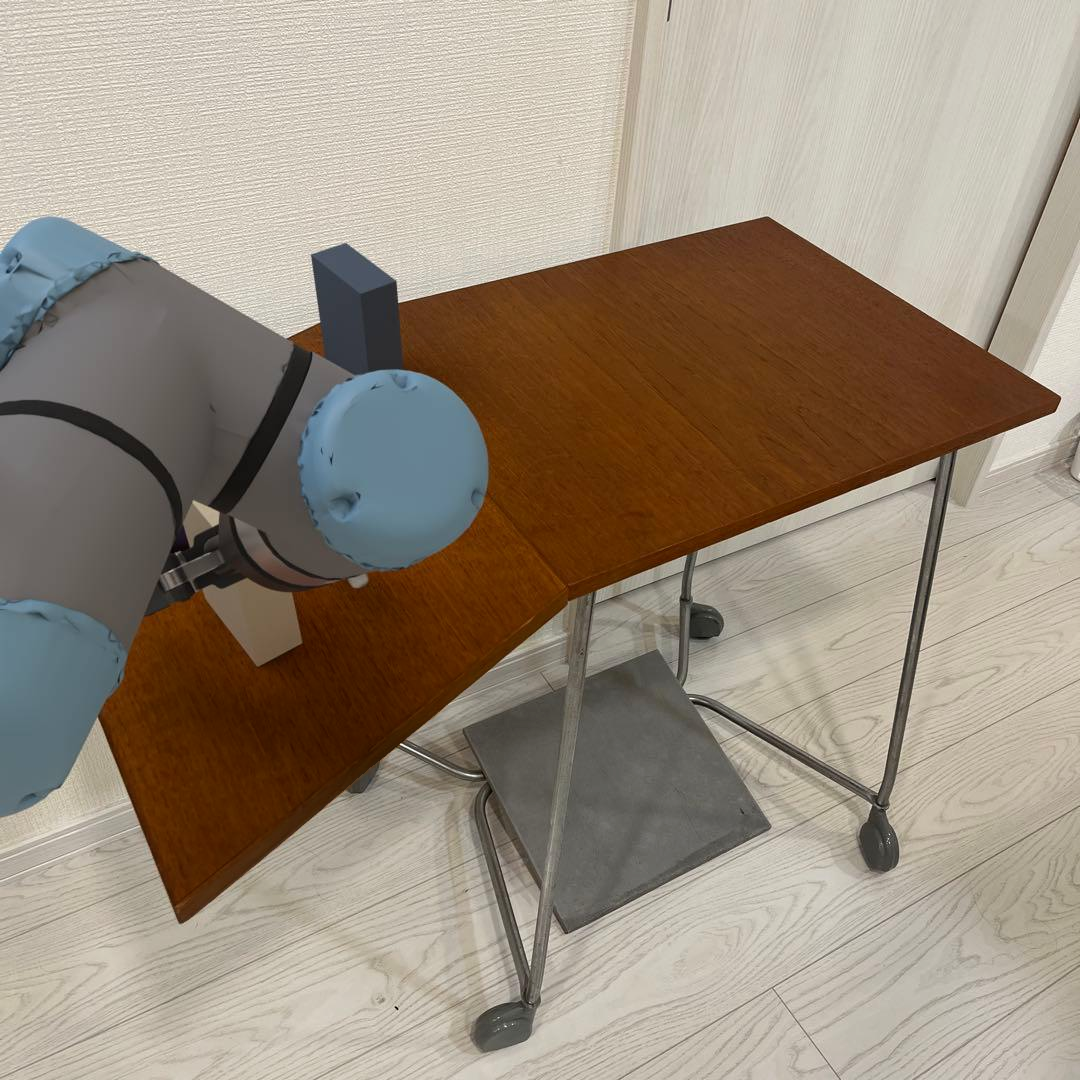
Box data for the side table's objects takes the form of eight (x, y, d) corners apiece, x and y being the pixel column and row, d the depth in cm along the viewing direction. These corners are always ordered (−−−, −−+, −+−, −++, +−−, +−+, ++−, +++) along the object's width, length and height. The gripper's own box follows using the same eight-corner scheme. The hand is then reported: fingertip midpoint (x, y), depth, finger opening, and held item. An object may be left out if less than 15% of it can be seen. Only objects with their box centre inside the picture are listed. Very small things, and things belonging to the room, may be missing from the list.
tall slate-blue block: (373, 413, 90) (360, 293, 82) (326, 371, 95) (310, 254, 86) (405, 399, 92) (396, 280, 83) (358, 358, 96) (346, 242, 88)
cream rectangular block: (257, 667, 69) (224, 542, 61) (205, 599, 74) (167, 473, 65) (302, 643, 71) (276, 518, 63) (248, 577, 75) (217, 452, 67)
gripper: (115, 694, 46) (82, 687, 66) (520, 488, 58) (391, 534, 77) (37, 547, 46) (26, 584, 65) (464, 367, 57) (347, 444, 76)
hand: (224, 557), depth 71 cm, fingers open, 11 cm apart
